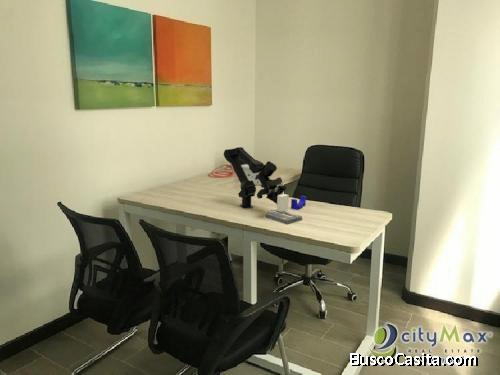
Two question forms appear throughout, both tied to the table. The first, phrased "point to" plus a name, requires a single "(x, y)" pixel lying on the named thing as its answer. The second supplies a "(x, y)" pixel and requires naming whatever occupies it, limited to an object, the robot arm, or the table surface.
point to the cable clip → (298, 205)
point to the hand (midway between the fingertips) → (279, 204)
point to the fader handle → (282, 203)
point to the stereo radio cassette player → (250, 174)
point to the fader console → (283, 217)
